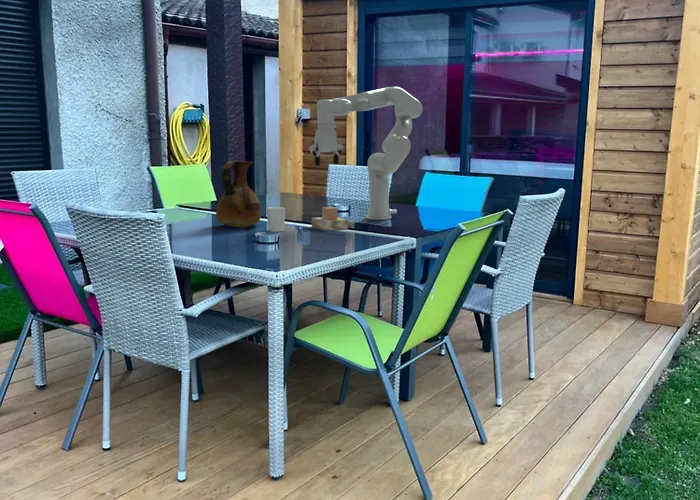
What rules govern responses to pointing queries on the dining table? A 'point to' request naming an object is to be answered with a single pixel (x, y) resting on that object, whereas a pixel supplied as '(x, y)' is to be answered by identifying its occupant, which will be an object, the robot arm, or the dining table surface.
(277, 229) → the white cup
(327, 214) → the cube
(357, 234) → the dining table surface
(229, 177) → the ceramic pitcher
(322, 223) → the plinth
